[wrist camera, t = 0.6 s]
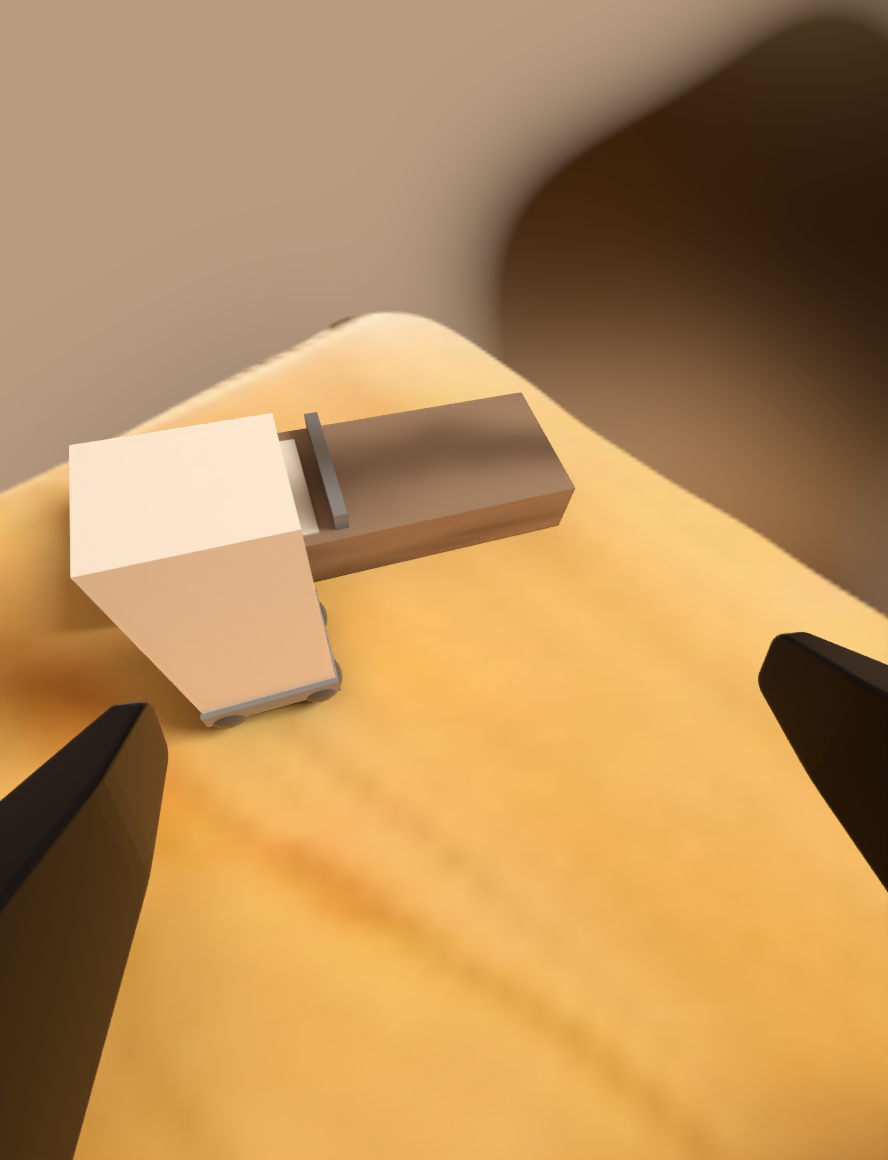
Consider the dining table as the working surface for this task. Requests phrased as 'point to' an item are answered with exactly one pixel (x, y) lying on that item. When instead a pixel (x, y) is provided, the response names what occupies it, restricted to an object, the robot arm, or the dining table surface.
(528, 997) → the dining table surface
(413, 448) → the dock
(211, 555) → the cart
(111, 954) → the robot arm
